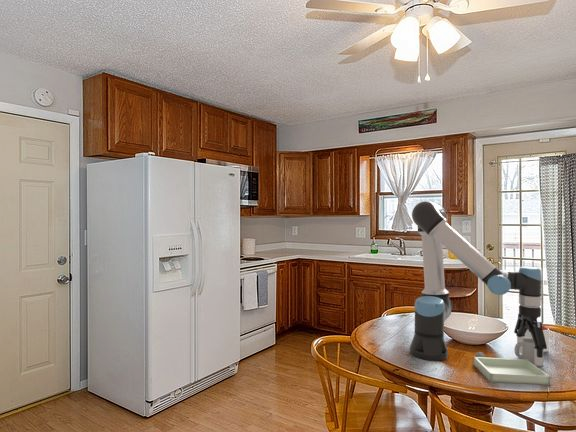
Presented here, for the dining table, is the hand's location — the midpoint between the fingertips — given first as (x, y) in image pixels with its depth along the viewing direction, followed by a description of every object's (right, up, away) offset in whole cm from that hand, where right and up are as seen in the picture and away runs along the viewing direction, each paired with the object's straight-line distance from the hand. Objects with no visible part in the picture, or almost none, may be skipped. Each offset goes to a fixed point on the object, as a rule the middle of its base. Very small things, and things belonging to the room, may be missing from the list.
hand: (529, 358), depth 157 cm
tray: (-14, -2, -12) cm, 19 cm away
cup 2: (0, -2, 0) cm, 2 cm away
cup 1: (+12, -2, +16) cm, 20 cm away
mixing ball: (-19, 0, +1) cm, 19 cm away
